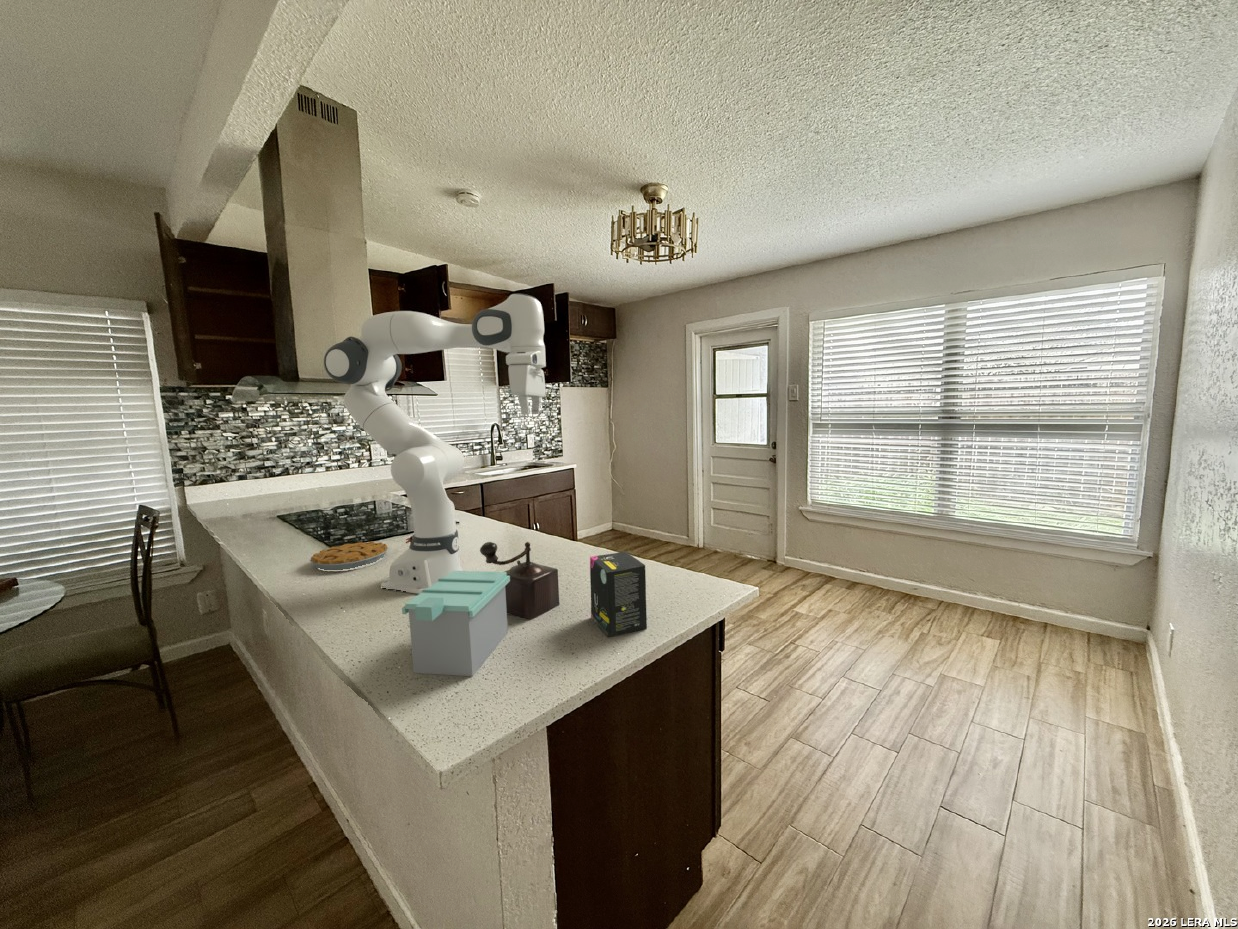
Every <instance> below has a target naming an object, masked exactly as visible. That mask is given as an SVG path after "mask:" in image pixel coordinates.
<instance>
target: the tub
mask: <svg viewBox="0 0 1238 929" xmlns="http://www.w3.org/2000/svg"><path fill="white" fill-rule="evenodd" d="M408 610H409V612H408V620H409V621H408V622H409V631H410V632H409V633H410V645H411V656H412V667H413V668H412V669H413V673H414V674H427V675H428V674H429V675H443V676H445V675H447V676H459V677H460V676H461V677H474V675H475V674H476V673H477V672H478V671H479V670H480V668H481V667H482V666H483V665H484V663H485V662H486V661H487V659H488V658H489V657H490V656H491V654H492V653H493V652H494V651H495V650H496V648H497V647H498V646H499V644H500V643H501V642H502V641H503V640H504V638H505V637H506V636H507V635H508V633H509V631H508V630H509V628H508V614H507V610H506V592H505V587H504V588H502V589H501V590H500V591H499V592H498V593H497V594H496V595H495V596H494V597H493V598H492V599H491V600H490V601H489V602H488V603H487V604H486V605H485V606H484V607H483V608H482V609H481V610H480V611H479V612H478V613H477V614H476V615H475V616H474V617H470V615H469V612H463V611H444V612H442V613H441V614H440V615H439V616H438V617H436V618H435V619H434V620H433V621H424V620H416V613H415V609H408Z"/></svg>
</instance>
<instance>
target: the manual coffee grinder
mask: <svg viewBox="0 0 1238 929" xmlns="http://www.w3.org/2000/svg"><path fill="white" fill-rule="evenodd" d="M524 546H525V547H524V550H523V551H522V552H520V553H519V554H517V555H516V556H514V557H512V558H510V559H507V560H502V561H501V560H499V557H498V556H497V551H498V545H497V544H496V543H495V542H492V541H487V542H485V543H483V544H482V545H481V547H480V548H479V551H480V554H481V555H482V556H483V557H485V563H486V564H494V565H498V566H505V565H509V564H511V563H514V562H516V565H513V566H512V567H510V568H509V569H507V570H505V571H504V572H506V573H507V576H510V582H509V583H508V584H507V585H506V586H505V592H506V610H507V615H510V616H513V617H517V618H518V619H522V620H526V621H531V620H534V619H537V618H538V617H540V616H542V615H544V614H546V613H547V612H549V611H551V610H553V609H554V608H556V607H558V606H559V605H560V592H559V591H560V590H559V588H560V587H559V570H558V568H554V567H551V566H547V565H544V564H539V563H536V562H533V561H531V557H530V556H531V555H530V554H531V553H530V552H531V551H532V549H531V543H530V542H529V541H526V542H524ZM524 556H525V561H524V562H521V560H520V559H522V558H523V557H524Z"/></svg>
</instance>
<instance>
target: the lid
mask: <svg viewBox="0 0 1238 929" xmlns="http://www.w3.org/2000/svg"><path fill="white" fill-rule="evenodd" d="M509 582H510V576H507V573H506V572H505V571H485V570H482V571H479V570H478V571H477V570H463V571H452V572H450V573H449V574H448V575H446V576H445V577H443V578H439V579H438V581H437V582H436V583H435V584H433V585H432V586H430V587H429V588H427V589H423V590H422V592H421V593H420V594H417V595H416V596H414V597H413V598H411V599H409V601H407V602H406V603H405V604H404V606H402V607H401V614H402V615H406V614H409V610H408V609H415V613H416V620H424V621H433V620H434V619H435V618H436V617H438V616H439V615H440V614H441V613H442V612H444V611H463V612H469V615H470V617H474V616H475V615H476V614H477V613H478V612H479V611H480V610H481V609H482V608H483V607H484V606H485V605H486V604H487V603H488V602H489V601H490V600H491V599H492V598H493V597H494V596H495V595H496V594H497V593H498V592H499V591H500V590H501V589H502V588H504V587H505V586H506V585H507V584H508V583H509Z"/></svg>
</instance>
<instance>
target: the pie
mask: <svg viewBox="0 0 1238 929" xmlns="http://www.w3.org/2000/svg"><path fill="white" fill-rule="evenodd" d="M388 550H389V547H388V546H387V544H386V543H383V542H375V541H368V542H364V541H363V542H355V543H344V544H343V545H339V546H330V548H328V549H322V550H319V552H317V553H314V554H313V556H311V557H310V559H309V562H310V563H312V564H313V565H314V566H316V567H317V568H320V569H324V570H343V569H350V568H355V567H358V566H362V565H366V564H370V563H373V562H376V561H377V560H379V559H380V558H383V557H384V558H385V556H386V553H387V552H388ZM384 555H385V556H384ZM384 558H383V559H384ZM316 567H315V568H316ZM317 568H316V569H317Z"/></svg>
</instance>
